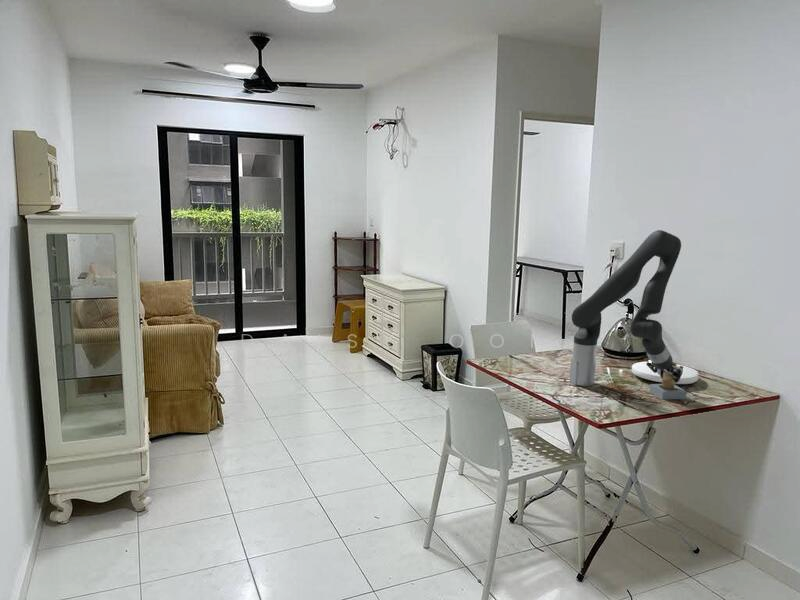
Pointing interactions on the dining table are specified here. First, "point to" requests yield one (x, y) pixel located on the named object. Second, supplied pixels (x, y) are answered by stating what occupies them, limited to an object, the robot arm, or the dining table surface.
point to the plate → (645, 372)
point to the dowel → (668, 381)
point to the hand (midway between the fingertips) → (670, 379)
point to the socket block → (668, 392)
